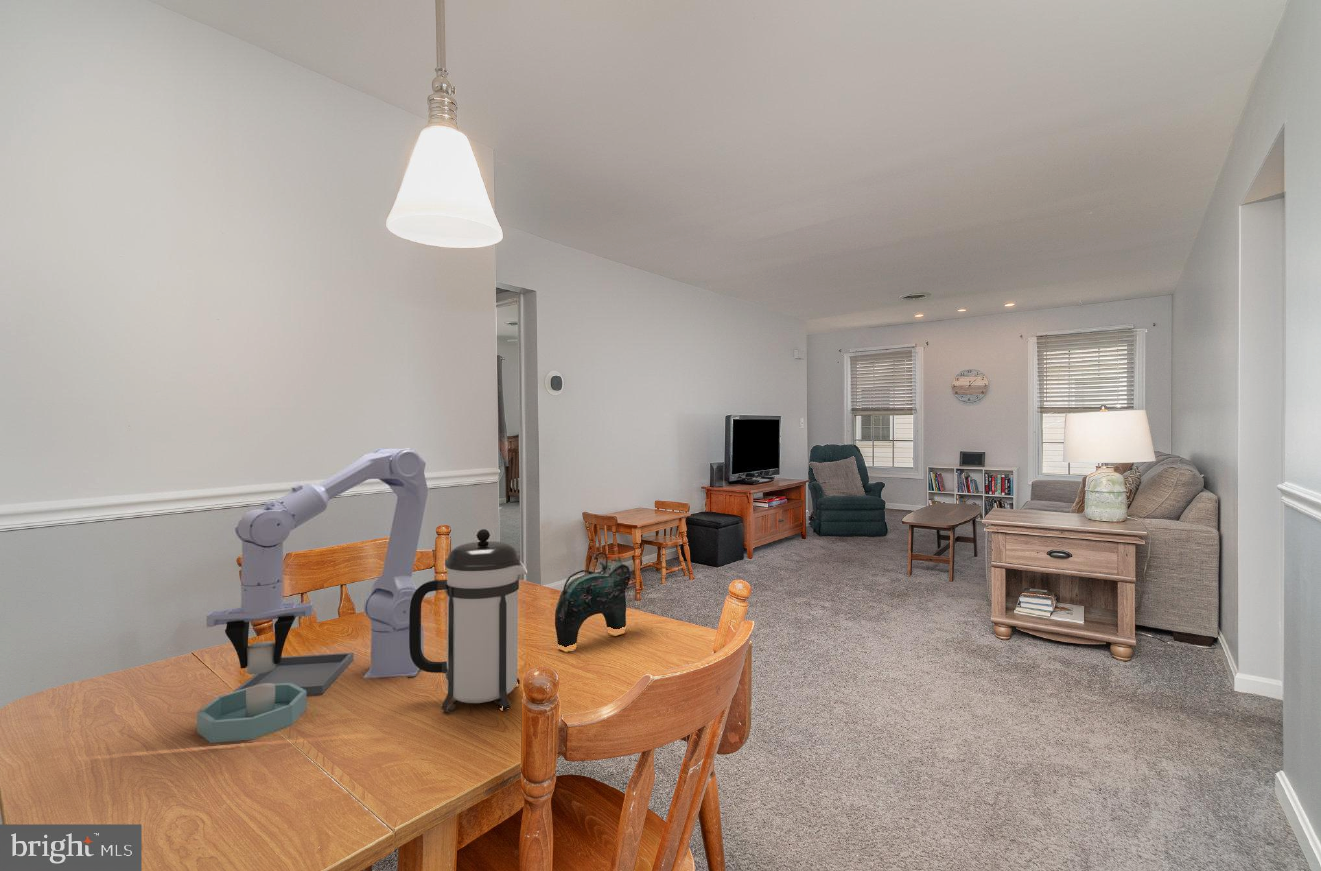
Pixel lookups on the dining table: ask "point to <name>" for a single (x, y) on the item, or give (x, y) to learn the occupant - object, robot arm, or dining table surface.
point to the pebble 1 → (260, 657)
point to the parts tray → (305, 672)
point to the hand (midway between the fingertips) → (261, 664)
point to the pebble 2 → (260, 699)
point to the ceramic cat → (592, 600)
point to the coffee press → (475, 622)
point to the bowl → (231, 724)
